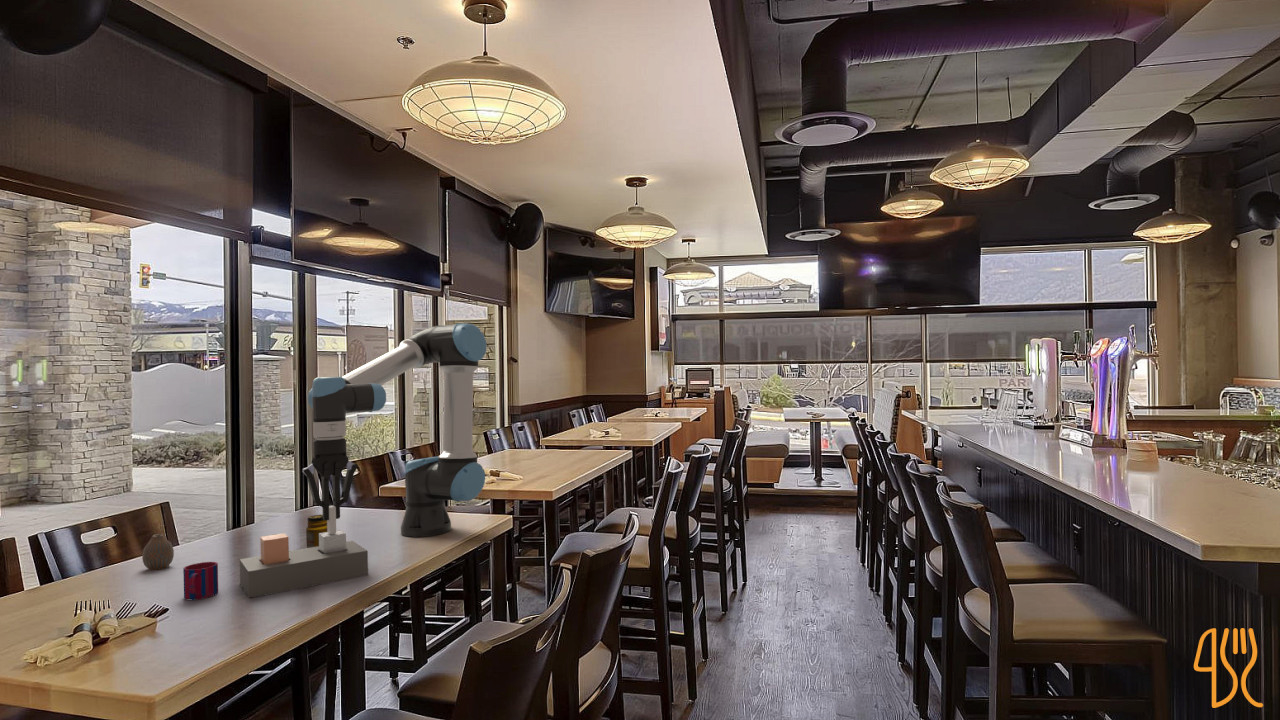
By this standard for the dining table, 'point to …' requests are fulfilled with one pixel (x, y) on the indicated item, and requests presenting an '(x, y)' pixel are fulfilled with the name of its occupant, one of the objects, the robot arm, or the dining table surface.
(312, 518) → the condiment
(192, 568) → the mug
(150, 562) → the vase
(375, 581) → the dining table surface
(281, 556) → the tan rectangular block
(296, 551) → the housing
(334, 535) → the white block
